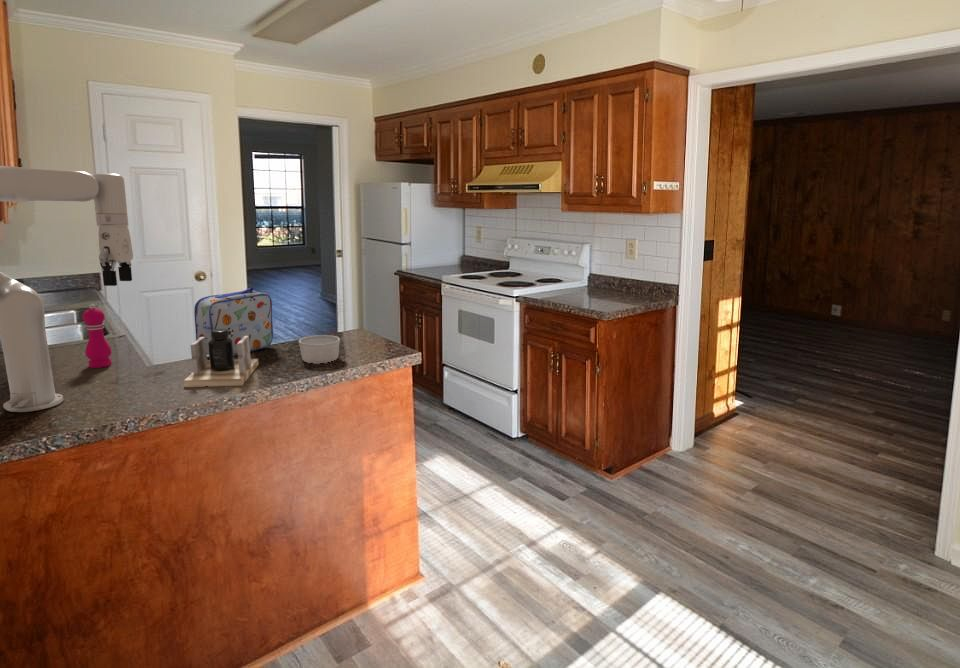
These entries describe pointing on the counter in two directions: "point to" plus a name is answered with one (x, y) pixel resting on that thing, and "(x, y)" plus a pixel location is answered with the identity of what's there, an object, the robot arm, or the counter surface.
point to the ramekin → (319, 348)
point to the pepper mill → (96, 339)
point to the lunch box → (236, 318)
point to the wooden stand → (220, 378)
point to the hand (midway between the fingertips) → (118, 283)
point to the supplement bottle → (221, 350)
